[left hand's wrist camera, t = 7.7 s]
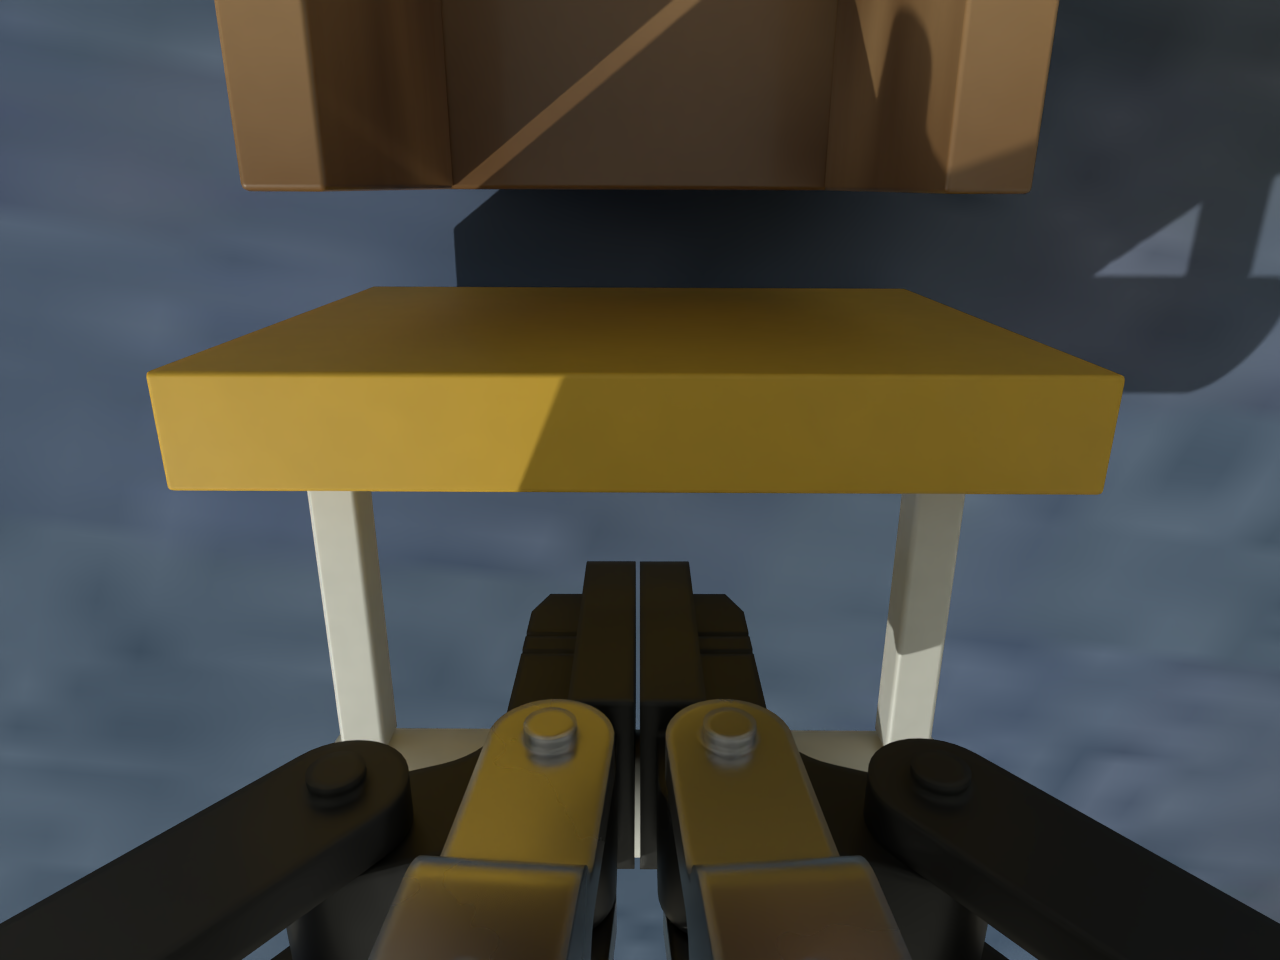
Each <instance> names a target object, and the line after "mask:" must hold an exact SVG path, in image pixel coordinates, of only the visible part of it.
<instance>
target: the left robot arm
mask: <svg viewBox="0 0 1280 960" xmlns="http://www.w3.org/2000/svg"><path fill="white" fill-rule="evenodd" d="M635 729H636V561H587V564H586V571H585V578H584V586H583V593H582V594H550V595H549V596H548V597H547V598H546V599H545V600H544V601H543V602H542V603H541V604H539V605H538V606H537V607H536V608H535V609H534V610H533V611H532V613H531V617H530V621H529V625H528V629H527V636H526V637H525V641H524V646H523V653H522V654H521V658H520V662H519V666H518V670H517V674H516V678H515V682H514V686H513V690H512V694H511V698H510V702H509V706H508V710H507V713H506V714H504V715H503V716H502V717H500V718H499V719H498V720H497V721H496V722H495V723H494V725H493V726H492V727H491V729H490V731H489V733H488V735H487V738H486V740H485V743H484V745H483V747H481V748H479V749H478V750H476V751H475V752H473V753H471V754H469V755H467V756H464V757H462V758H459V759H456V760H454V761H450V762H447V763H443V764H439V765H434V766H430V767H425V768H421V769H417V770H412V771H409V768H408V764H407V762H406V759H405V758H404V757H403V755H402V754H401V753H400V752H399V751H397V750H396V749H395V748H393V747H391V746H389V745H387V744H383V743H380V742H376V741H369V740H350V741H342V742H336V743H332V744H328V745H324V746H321V747H318V748H316V749H313V750H311V751H309V752H307V753H305V754H303V755H301V756H299V757H297V758H295V759H293V760H292V761H290V762H288V763H286V764H284V765H283V766H281V767H279V768H277V769H275V770H274V771H272V772H270V773H268V774H267V775H265V776H263V777H261V778H259V779H258V780H256V781H254V782H252V783H250V784H249V785H247V786H245V787H243V788H242V789H240V790H238V791H236V792H234V793H233V794H231V795H229V796H227V797H226V798H224V799H222V800H220V801H218V802H217V803H215V804H213V805H211V806H209V807H208V808H206V809H204V810H202V811H201V812H199V813H197V814H195V815H193V816H192V817H190V818H188V819H186V820H184V821H183V822H181V823H179V824H177V825H176V826H174V827H172V828H170V829H168V830H167V831H165V832H163V833H161V834H160V835H158V836H156V837H154V838H152V839H151V840H149V841H147V842H145V843H143V844H142V845H140V846H138V847H136V848H135V849H133V850H131V851H129V852H127V853H126V854H124V855H122V856H120V857H118V858H117V859H115V860H113V861H111V862H110V863H108V864H106V865H104V866H102V867H101V868H99V869H97V870H95V871H94V872H92V873H90V874H88V875H86V876H85V877H83V878H81V879H79V880H77V881H76V882H74V883H72V884H70V885H69V886H67V887H65V888H63V889H61V890H60V891H58V892H56V893H54V894H53V895H51V896H49V897H47V898H45V899H44V900H42V901H40V902H38V903H36V904H35V905H33V906H31V907H29V908H28V909H26V910H24V911H22V912H20V913H19V914H17V915H15V916H13V917H11V918H10V919H8V920H6V921H4V922H3V923H1V924H0V960H242V959H243V958H245V957H246V956H247V955H249V954H250V953H252V952H253V951H254V950H256V949H257V948H259V947H260V946H261V945H263V944H264V943H266V942H267V941H268V940H270V939H271V938H273V937H274V936H275V935H277V934H278V933H280V932H281V931H282V930H284V929H285V928H287V933H288V939H289V944H290V946H289V947H287V948H286V949H285V950H283V951H282V952H281V953H279V954H278V955H277V956H275V957H274V958H272V959H271V960H613V957H614V949H615V940H616V930H617V916H616V884H617V869H634V856H635ZM640 869H657V880H658V897H659V902H660V905H661V908H662V910H663V933H664V941H665V949H666V958H667V960H1009V959H1007V958H1006V957H1005V956H1003V955H1002V954H1001V953H999V952H998V951H997V950H995V949H994V948H993V947H991V946H990V945H988V944H987V943H986V942H984V941H985V936H986V931H987V925H988V924H989V925H991V926H992V927H993V928H995V929H996V930H998V931H999V932H1000V933H1002V934H1003V935H1005V936H1006V937H1007V938H1009V939H1010V940H1012V941H1013V942H1014V943H1016V944H1017V945H1019V946H1020V947H1021V948H1023V949H1024V950H1026V951H1027V952H1028V953H1030V954H1031V955H1033V956H1034V957H1035V958H1037V959H1038V960H1280V924H1279V923H1277V922H1276V921H1274V920H1272V919H1270V918H1268V917H1267V916H1265V915H1263V914H1261V913H1260V912H1258V911H1256V910H1254V909H1252V908H1251V907H1249V906H1247V905H1245V904H1244V903H1242V902H1240V901H1238V900H1236V899H1235V898H1233V897H1231V896H1229V895H1227V894H1226V893H1224V892H1222V891H1220V890H1219V889H1217V888H1215V887H1213V886H1211V885H1210V884H1208V883H1206V882H1204V881H1202V880H1201V879H1199V878H1197V877H1195V876H1194V875H1192V874H1190V873H1188V872H1186V871H1185V870H1183V869H1181V868H1179V867H1178V866H1176V865H1174V864H1172V863H1170V862H1169V861H1167V860H1165V859H1163V858H1161V857H1160V856H1158V855H1156V854H1154V853H1153V852H1151V851H1149V850H1147V849H1145V848H1144V847H1142V846H1140V845H1138V844H1137V843H1135V842H1133V841H1131V840H1129V839H1128V838H1126V837H1124V836H1122V835H1120V834H1119V833H1117V832H1115V831H1113V830H1112V829H1110V828H1108V827H1106V826H1104V825H1103V824H1101V823H1099V822H1097V821H1095V820H1094V819H1092V818H1090V817H1088V816H1087V815H1085V814H1083V813H1081V812H1079V811H1078V810H1076V809H1074V808H1072V807H1071V806H1069V805H1067V804H1065V803H1063V802H1062V801H1060V800H1058V799H1056V798H1054V797H1053V796H1051V795H1049V794H1047V793H1046V792H1044V791H1042V790H1040V789H1038V788H1037V787H1035V786H1033V785H1031V784H1029V783H1028V782H1026V781H1024V780H1022V779H1021V778H1019V777H1017V776H1015V775H1013V774H1012V773H1010V772H1008V771H1006V770H1005V769H1003V768H1001V767H999V766H997V765H996V764H994V763H992V762H990V761H988V760H987V759H985V758H983V757H981V756H980V755H978V754H976V753H974V752H972V751H970V750H968V749H966V748H963V747H960V746H958V745H955V744H952V743H948V742H944V741H940V740H934V739H924V738H910V739H903V740H897V741H894V742H891V743H888V744H887V745H885V746H883V747H881V748H880V749H879V750H877V751H876V752H875V753H874V755H873V756H872V757H871V760H870V762H869V765H868V772H865V771H861V770H856V769H852V768H847V767H843V766H838V765H834V764H830V763H826V762H823V761H819V760H817V759H814V758H811V757H809V756H807V755H805V754H803V753H801V752H799V751H798V748H797V746H796V743H795V741H794V738H793V735H792V733H791V731H790V729H789V727H788V726H787V725H786V724H785V722H784V721H783V720H782V719H781V718H779V717H778V716H777V715H776V714H774V713H773V712H771V711H769V710H768V709H766V705H765V700H764V696H763V692H762V688H761V683H760V679H759V675H758V671H757V666H756V662H755V658H754V654H753V653H752V645H751V641H750V637H749V636H748V628H747V624H746V620H745V616H744V612H743V611H742V610H741V609H740V608H739V607H738V606H737V605H736V604H735V603H734V602H733V601H732V600H731V599H730V598H728V597H727V596H726V595H725V594H693V591H692V583H691V575H690V567H689V562H640Z"/></svg>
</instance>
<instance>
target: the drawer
mask: <svg viewBox="0 0 1280 960" xmlns="http://www.w3.org/2000/svg"><path fill="white" fill-rule="evenodd" d="M214 1H215V8H216V15H217V22H218V28H219V35H220V42H221V49H222V56H223V63H224V70H225V77H226V83H227V90H228V97H229V104H230V111H231V118H232V125H233V132H234V138H235V145H236V152H237V159H238V166H239V173H240V180H241V184H242V187H243V188H244V189H246V190H248V191H373V190H426V189H577V190H830V191H866V192H902V193H939V194H1026V193H1028V192H1030V190H1031V187H1032V180H1033V174H1034V167H1035V160H1036V154H1037V147H1038V140H1039V133H1040V127H1041V120H1042V113H1043V107H1044V100H1045V93H1046V87H1047V80H1048V73H1049V67H1050V60H1051V53H1052V46H1053V40H1054V33H1055V26H1056V20H1057V13H1058V6H1059V0H214ZM147 382H148V387H149V392H150V398H151V403H152V408H153V413H154V418H155V423H156V428H157V433H158V439H159V444H160V449H161V454H162V459H163V464H164V469H165V475H166V480H167V485H168V487H169V489H171V490H223V491H307V492H308V499H309V506H310V514H311V521H312V528H313V536H314V543H315V550H316V558H317V565H318V572H319V580H320V587H321V594H322V602H323V609H324V616H325V624H326V631H327V638H328V646H329V653H330V660H331V668H332V675H333V682H334V690H335V697H336V704H337V712H338V719H339V726H340V735H339V736H338V738H337V740H336V741H335V743H336V742H342V741H350V740H369V741H376V742H380V743H383V744H387V745H389V746H391V747H393V748H395V749H396V750H397V751H399V752H400V753H401V754H402V755H403V757H404V758H405V759H406V762H407V764H408V768H409V771H412V770H417V769H421V768H425V767H430V766H434V765H439V764H443V763H447V762H450V761H454V760H456V759H459V758H462V757H464V756H467V755H469V754H471V753H473V752H475V751H476V750H478V749H479V748H481V747H483V745H484V743H485V740H486V738H487V735H488V733H489V731H490V729H427V728H396V726H397V724H396V715H395V705H394V696H393V687H392V678H391V669H390V660H389V651H388V642H387V632H386V623H385V614H384V605H383V596H382V587H381V578H380V569H379V560H378V550H377V541H376V532H375V523H374V514H373V505H372V496H371V491H439V492H655V493H871V494H902V498H901V507H900V516H899V524H898V533H897V542H896V551H895V559H894V568H893V577H892V586H891V595H890V603H889V612H888V621H887V630H886V638H885V647H884V656H883V665H882V673H881V682H880V691H879V700H878V708H877V717H876V726H875V729H876V731H797V730H790V731H791V733H792V735H793V738H794V741H795V743H796V746H797V748H798V751H799V752H801V753H803V754H805V755H807V756H809V757H811V758H814V759H817V760H819V761H823V762H826V763H830V764H834V765H838V766H843V767H847V768H852V769H856V770H861V771H865V772H868V765H869V762H870V760H871V757H872V756H873V755H874V753H875V752H876V751H877V750H879V749H880V748H881V747H883V746H885V745H887V744H888V743H891V742H894V741H897V740H903V739H910V738H924V739H933V738H932V737H931V734H932V727H933V719H934V712H935V705H936V698H937V691H938V684H939V677H940V670H941V663H942V656H943V648H944V641H945V634H946V627H947V620H948V613H949V606H950V599H951V592H952V585H953V577H954V570H955V563H956V556H957V549H958V542H959V535H960V528H961V521H962V514H963V506H964V499H965V494H1087V495H1097V494H1101V493H1102V491H1103V488H1104V483H1105V478H1106V473H1107V468H1108V463H1109V458H1110V453H1111V448H1112V443H1113V438H1114V433H1115V428H1116V423H1117V418H1118V413H1119V407H1120V402H1121V397H1122V392H1123V387H1124V382H1125V379H1124V376H1122V375H1120V374H1118V373H1115V372H1112V371H1110V370H1107V369H1105V368H1102V367H1100V366H1097V365H1095V364H1092V363H1090V362H1087V361H1085V360H1082V359H1080V358H1077V357H1075V356H1072V355H1070V354H1067V353H1065V352H1062V351H1060V350H1057V349H1055V348H1052V347H1049V346H1047V345H1044V344H1042V343H1039V342H1037V341H1034V340H1032V339H1029V338H1027V337H1024V336H1022V335H1019V334H1017V333H1014V332H1012V331H1009V330H1007V329H1004V328H1002V327H999V326H997V325H994V324H992V323H989V322H987V321H984V320H981V319H979V318H976V317H974V316H971V315H969V314H966V313H964V312H961V311H959V310H956V309H954V308H951V307H949V306H946V305H944V304H941V303H939V302H936V301H934V300H931V299H929V298H926V297H924V296H921V295H919V294H916V293H913V292H911V291H908V290H906V289H838V288H586V287H372V288H369V289H367V290H364V291H361V292H359V293H356V294H353V295H351V296H348V297H345V298H343V299H340V300H337V301H335V302H332V303H329V304H327V305H324V306H321V307H319V308H316V309H313V310H311V311H308V312H305V313H303V314H300V315H297V316H295V317H292V318H289V319H287V320H284V321H281V322H279V323H276V324H273V325H271V326H268V327H265V328H263V329H260V330H257V331H255V332H252V333H249V334H247V335H244V336H241V337H239V338H236V339H233V340H231V341H228V342H226V343H223V344H220V345H218V346H215V347H212V348H210V349H207V350H204V351H202V352H199V353H196V354H194V355H191V356H188V357H186V358H183V359H180V360H178V361H175V362H172V363H170V364H167V365H164V366H162V367H159V368H156V369H154V370H151V371H149V372H148V373H147ZM634 857H640V730H635V856H634Z"/></svg>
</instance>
